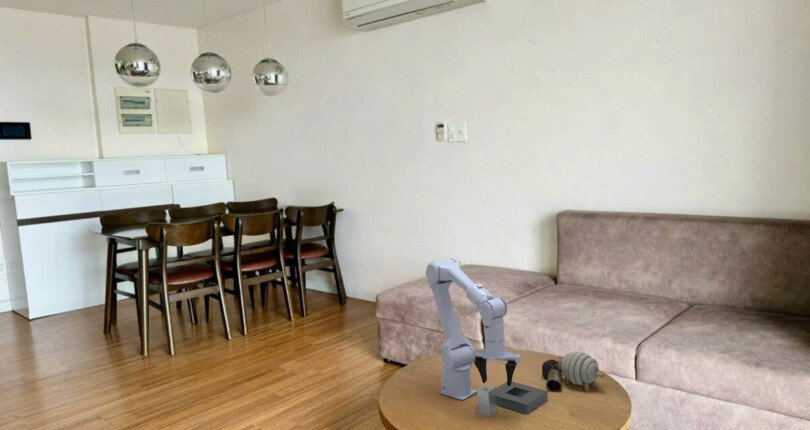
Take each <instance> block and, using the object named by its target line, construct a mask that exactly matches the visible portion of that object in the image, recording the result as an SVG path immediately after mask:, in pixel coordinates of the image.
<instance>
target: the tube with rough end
mask: <svg viewBox="0 0 810 430" xmlns="http://www.w3.org/2000/svg"><path fill="white" fill-rule="evenodd" d="M559 361H560V360H556V359H552V358H550V359H548V360H545V361H544V362H542V365H541V376H542V377H543V378H544V379H546V385H545V387H546V388H547V390H548V391H550V392H553V393H558V392H560V391H561V389H562V386H563V385H562V374H563V372H562V370H560V369H559V367H558V363H559Z"/></svg>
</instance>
